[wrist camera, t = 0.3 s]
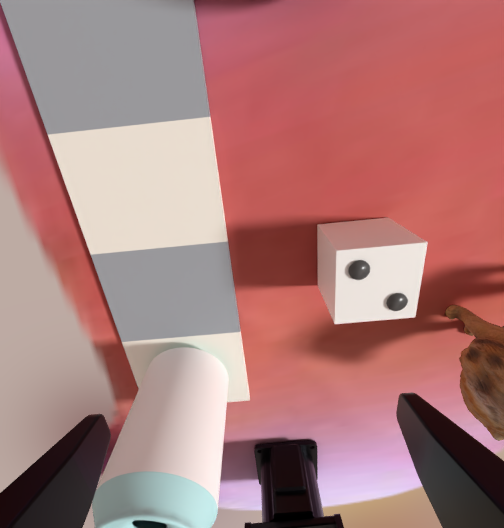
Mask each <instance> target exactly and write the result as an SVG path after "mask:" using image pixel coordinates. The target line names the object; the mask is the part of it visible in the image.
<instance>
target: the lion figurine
mask: <svg viewBox="0 0 504 528" xmlns="http://www.w3.org/2000/svg"><path fill="white" fill-rule="evenodd" d="M446 315H447V316H448V317H449V319H455V318H457V319H459V320H461V321H463V322H464V324H465V327H464V332H465V333H466V334H468V335H470V336H473V335H474V336H475V337H476V339H474V340H473V341H472V342H471V344H470V345H469V347H468V348H465V349H464V350H463V351H462V352H461V357H460V358H459V359H460V362H461V366H462V368H463V369H462V371H461V375H460V377H461V379H460V389H461V393H462V396H463V399H464V402H465V404H466V406H467V408H468V410H469V411H470V412H471V413H472V414H473V415H474V417H475V418H476V419H478V420H479V421H480V422H481V423H482V424H483V425H484V426H485V427H486V428H487V429H488V431H489V432H490V433H491V435H492V436H493V437H494V438H495V439H496V440H498V441H500V440H504V326H503V327H500V326H497V325H494V324H491V323H489V322H486V321H485V320H483V319H481V318H480V317H478V316H476V315H475V314H473V313H472V312H471V311H469V310H467V309H466V308H463V307H461V306H457V305H451V306H449V307H448V308H447V309H446Z"/></svg>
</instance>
